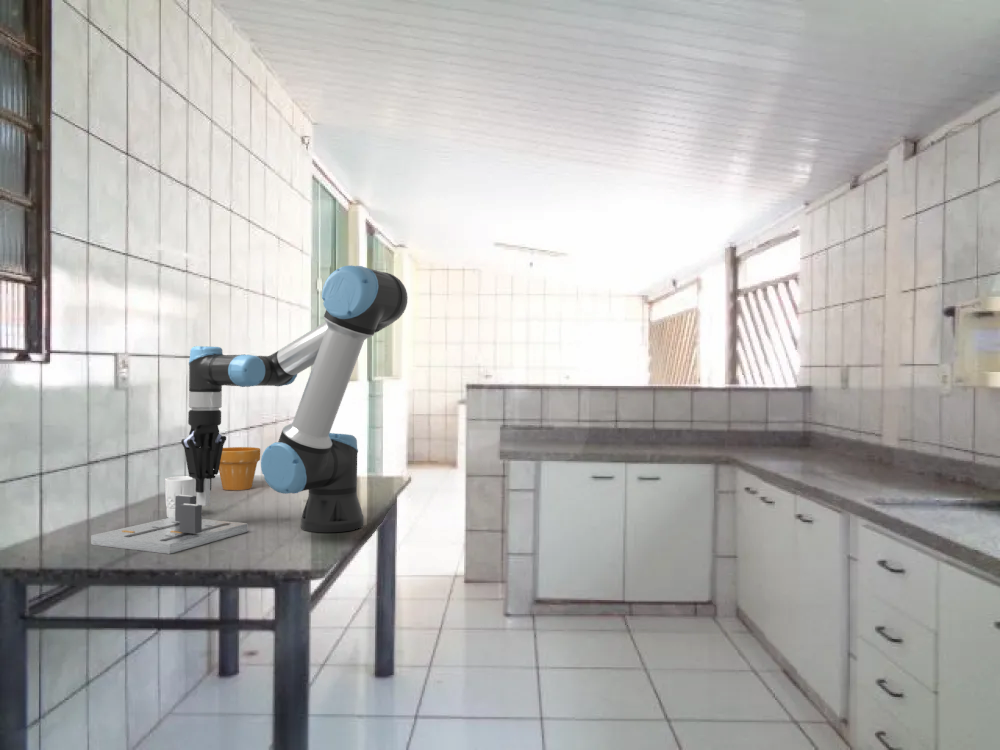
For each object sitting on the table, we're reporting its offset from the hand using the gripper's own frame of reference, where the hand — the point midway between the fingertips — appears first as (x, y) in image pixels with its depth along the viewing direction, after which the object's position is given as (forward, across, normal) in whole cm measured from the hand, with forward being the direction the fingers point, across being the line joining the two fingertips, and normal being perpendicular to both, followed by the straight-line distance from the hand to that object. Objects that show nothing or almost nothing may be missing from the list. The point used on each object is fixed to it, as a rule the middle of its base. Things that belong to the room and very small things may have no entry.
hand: (203, 505), depth 182 cm
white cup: (+6, -8, -15) cm, 18 cm away
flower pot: (+6, -52, -34) cm, 62 cm away
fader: (+3, +15, +10) cm, 18 cm away
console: (+5, +13, +3) cm, 14 cm away
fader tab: (+3, +6, 0) cm, 7 cm away
